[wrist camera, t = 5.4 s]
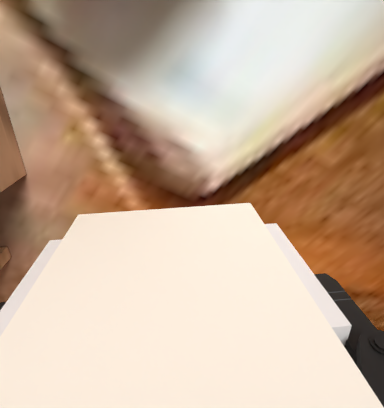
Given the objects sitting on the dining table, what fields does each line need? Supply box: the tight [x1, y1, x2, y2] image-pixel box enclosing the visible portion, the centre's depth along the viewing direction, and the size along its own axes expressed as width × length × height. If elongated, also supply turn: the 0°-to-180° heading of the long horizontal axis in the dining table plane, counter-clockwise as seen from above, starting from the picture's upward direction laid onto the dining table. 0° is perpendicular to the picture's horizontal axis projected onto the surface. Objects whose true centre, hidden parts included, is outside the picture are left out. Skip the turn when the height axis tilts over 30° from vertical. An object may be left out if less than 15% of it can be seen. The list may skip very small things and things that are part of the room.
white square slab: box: [0, 203, 384, 408], centre depth 12 cm, size 4×10×12 cm, turn 92°
